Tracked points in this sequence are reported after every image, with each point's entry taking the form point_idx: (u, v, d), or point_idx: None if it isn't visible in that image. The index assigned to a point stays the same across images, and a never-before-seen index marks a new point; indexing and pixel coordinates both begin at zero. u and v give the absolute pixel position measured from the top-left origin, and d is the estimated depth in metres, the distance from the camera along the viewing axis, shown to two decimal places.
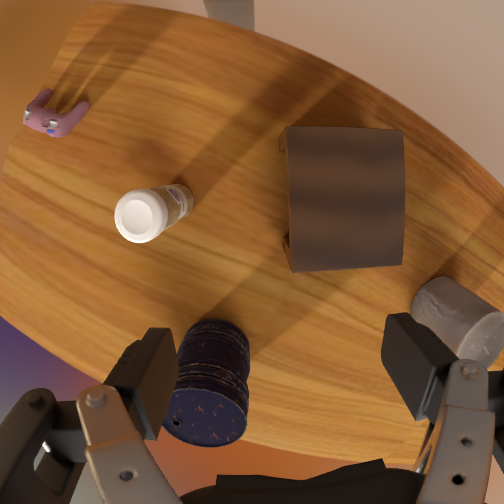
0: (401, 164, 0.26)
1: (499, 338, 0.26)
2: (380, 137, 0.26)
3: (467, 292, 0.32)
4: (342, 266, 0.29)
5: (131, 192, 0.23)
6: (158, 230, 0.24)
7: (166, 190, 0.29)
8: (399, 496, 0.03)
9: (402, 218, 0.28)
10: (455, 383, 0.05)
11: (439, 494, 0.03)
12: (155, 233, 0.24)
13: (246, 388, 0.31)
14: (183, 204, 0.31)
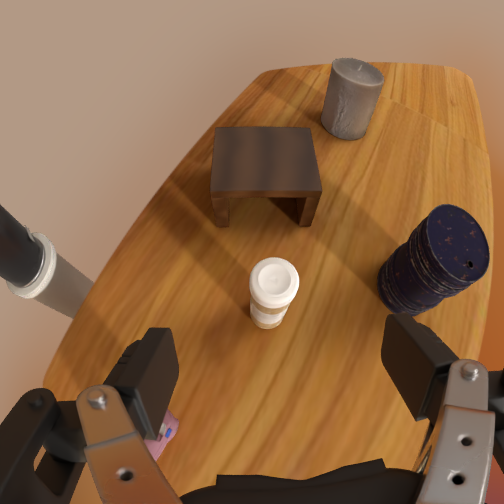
0: (239, 128, 0.41)
1: (351, 62, 0.43)
2: (220, 139, 0.40)
3: (326, 94, 0.49)
4: (314, 161, 0.39)
5: (251, 282, 0.27)
6: (287, 261, 0.28)
7: None
8: (399, 496, 0.03)
9: (276, 127, 0.41)
10: (455, 383, 0.05)
11: (439, 494, 0.03)
12: (290, 263, 0.28)
13: None
14: None
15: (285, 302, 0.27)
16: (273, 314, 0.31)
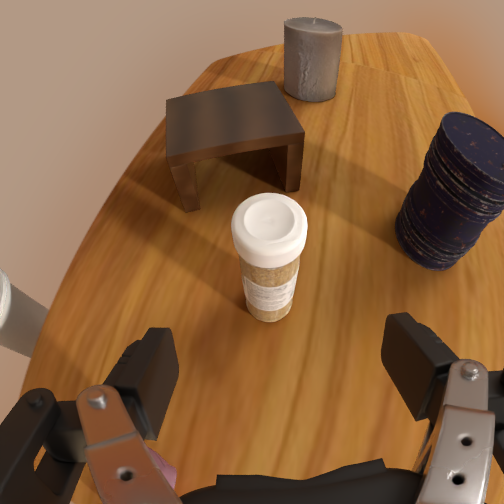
0: (193, 94, 0.33)
1: (303, 19, 0.38)
2: (173, 107, 0.32)
3: (284, 57, 0.42)
4: (287, 106, 0.31)
5: (234, 231, 0.17)
6: (282, 195, 0.19)
7: None
8: (399, 496, 0.03)
9: (236, 86, 0.34)
10: (455, 383, 0.05)
11: (439, 494, 0.03)
12: (286, 196, 0.18)
13: None
14: None
15: (293, 250, 0.17)
16: (278, 285, 0.21)
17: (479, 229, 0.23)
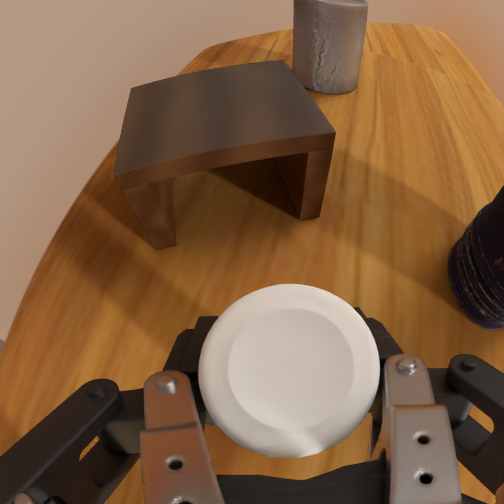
0: (168, 79, 0.22)
1: None
2: (137, 98, 0.21)
3: (294, 37, 0.31)
4: (304, 93, 0.20)
5: (206, 397, 0.06)
6: (322, 290, 0.08)
7: None
8: None
9: (229, 66, 0.23)
10: (394, 380, 0.06)
11: (411, 497, 0.03)
12: (333, 296, 0.07)
13: None
14: None
15: None
16: None
17: None
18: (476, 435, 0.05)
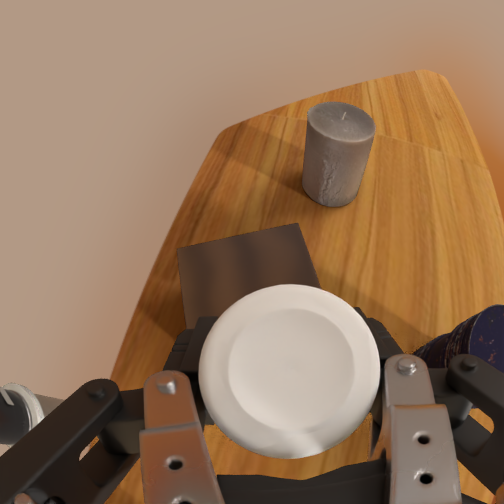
0: (207, 244, 0.33)
1: (330, 108, 0.38)
2: (186, 267, 0.32)
3: (305, 156, 0.42)
4: (313, 276, 0.31)
5: (206, 397, 0.06)
6: (322, 291, 0.08)
7: None
8: None
9: (255, 232, 0.34)
10: (394, 380, 0.06)
11: (411, 497, 0.03)
12: (334, 296, 0.07)
13: (459, 325, 0.25)
14: None
15: None
16: None
17: None
18: (476, 435, 0.05)
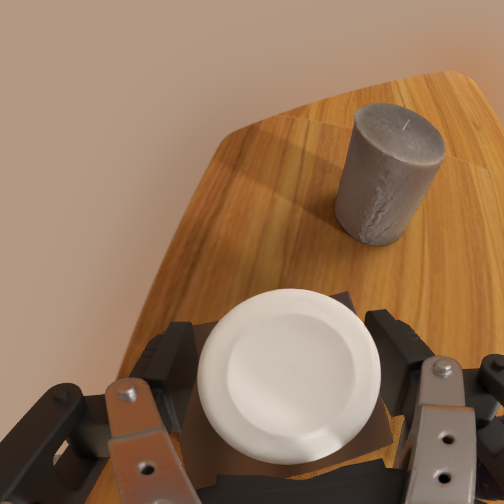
0: (210, 327, 0.21)
1: (383, 112, 0.25)
2: None
3: (347, 178, 0.30)
4: None
5: (205, 403, 0.06)
6: (322, 295, 0.08)
7: None
8: (385, 499, 0.03)
9: None
10: (429, 381, 0.06)
11: (427, 494, 0.03)
12: (334, 301, 0.07)
13: None
14: None
15: None
16: None
17: None
18: (500, 437, 0.05)
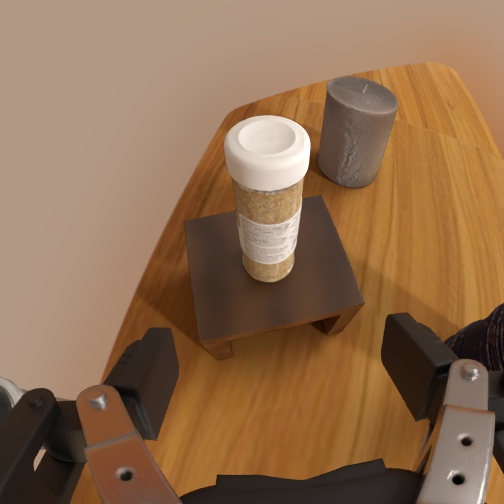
0: (220, 216, 0.29)
1: (349, 82, 0.34)
2: (195, 241, 0.28)
3: (324, 131, 0.38)
4: (342, 252, 0.26)
5: (227, 148, 0.15)
6: None
7: None
8: (399, 496, 0.03)
9: None
10: (455, 383, 0.05)
11: (439, 494, 0.03)
12: (286, 118, 0.16)
13: (497, 308, 0.21)
14: None
15: (295, 166, 0.14)
16: (279, 222, 0.18)
17: None
18: None
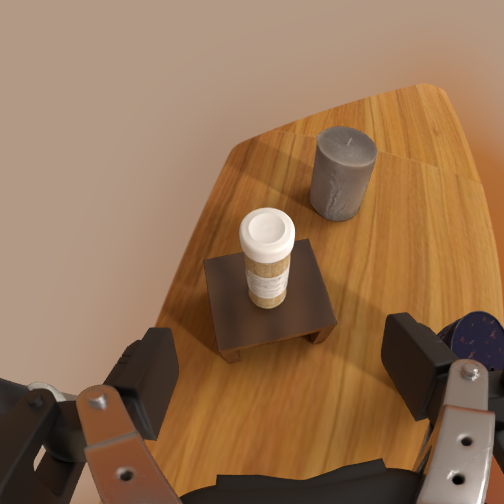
0: (230, 256, 0.38)
1: (337, 133, 0.43)
2: (212, 276, 0.37)
3: (314, 176, 0.47)
4: (322, 285, 0.36)
5: (241, 236, 0.24)
6: (276, 209, 0.25)
7: None
8: (399, 496, 0.03)
9: None
10: (455, 383, 0.05)
11: (439, 494, 0.03)
12: None
13: (445, 328, 0.30)
14: None
15: (284, 250, 0.24)
16: (274, 277, 0.27)
17: None
18: None
